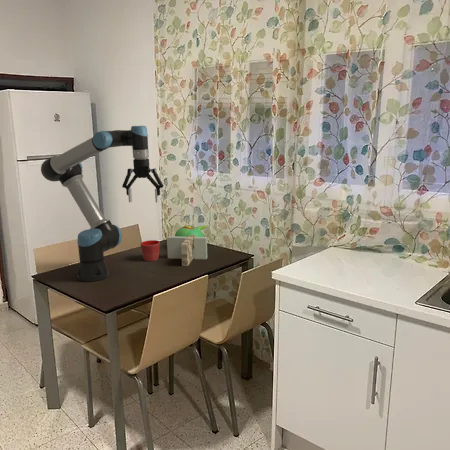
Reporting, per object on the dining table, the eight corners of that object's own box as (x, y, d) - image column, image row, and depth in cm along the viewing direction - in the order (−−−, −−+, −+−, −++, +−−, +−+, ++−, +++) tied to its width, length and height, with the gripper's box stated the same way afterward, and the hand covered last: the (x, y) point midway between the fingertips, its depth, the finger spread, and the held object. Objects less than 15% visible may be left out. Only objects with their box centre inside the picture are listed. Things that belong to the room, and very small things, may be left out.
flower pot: (137, 259, 256) (136, 242, 254) (154, 255, 263) (153, 239, 261) (148, 263, 248) (146, 246, 246) (164, 259, 255) (163, 242, 253)
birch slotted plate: (190, 255, 262) (189, 234, 259) (195, 255, 261) (195, 234, 259) (182, 265, 243) (181, 244, 240) (187, 266, 242) (186, 244, 239)
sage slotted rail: (167, 258, 257) (166, 237, 254) (169, 256, 260) (168, 236, 257) (206, 259, 253) (205, 238, 250) (207, 257, 256) (206, 237, 253)
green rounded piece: (169, 249, 274) (168, 225, 270) (187, 243, 287) (186, 220, 284) (192, 254, 263) (191, 229, 260) (210, 247, 277) (209, 223, 273)
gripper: (113, 159, 218) (116, 203, 223) (163, 158, 214) (166, 203, 219) (119, 158, 225) (122, 200, 230) (168, 157, 221) (170, 200, 226)
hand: (143, 202), depth 224 cm, fingers open, 13 cm apart
